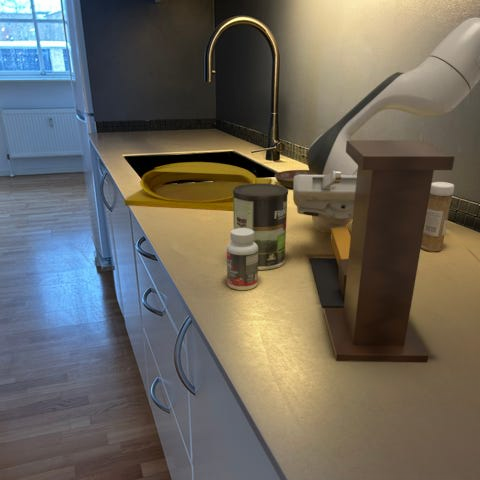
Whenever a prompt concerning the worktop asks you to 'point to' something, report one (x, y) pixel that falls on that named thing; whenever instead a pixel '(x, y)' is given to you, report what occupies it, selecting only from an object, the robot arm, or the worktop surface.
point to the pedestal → (385, 250)
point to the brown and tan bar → (341, 254)
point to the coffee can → (263, 219)
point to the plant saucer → (290, 176)
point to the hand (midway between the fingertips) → (354, 175)
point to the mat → (327, 281)
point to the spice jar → (437, 216)
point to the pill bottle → (242, 260)
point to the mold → (190, 172)
